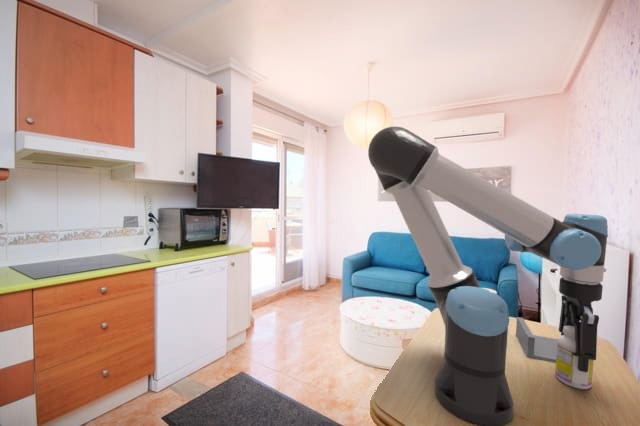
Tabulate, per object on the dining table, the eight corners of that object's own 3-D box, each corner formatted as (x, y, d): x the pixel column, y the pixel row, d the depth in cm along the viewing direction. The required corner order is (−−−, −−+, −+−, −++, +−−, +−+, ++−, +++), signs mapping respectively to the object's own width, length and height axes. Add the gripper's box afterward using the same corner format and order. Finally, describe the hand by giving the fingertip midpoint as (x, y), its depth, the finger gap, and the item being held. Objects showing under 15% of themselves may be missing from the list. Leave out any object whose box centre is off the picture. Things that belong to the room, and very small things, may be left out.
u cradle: (527, 356, 80) (528, 336, 80) (515, 334, 93) (516, 316, 93) (587, 368, 75) (589, 347, 75) (566, 343, 88) (568, 324, 87)
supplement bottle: (588, 379, 71) (592, 328, 70) (594, 394, 65) (599, 339, 64) (553, 369, 75) (557, 321, 74) (556, 383, 69) (560, 331, 68)
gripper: (625, 295, 58) (615, 405, 59) (583, 271, 76) (576, 356, 77) (577, 290, 61) (569, 394, 62) (547, 268, 79) (541, 349, 80)
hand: (573, 373), depth 70 cm, fingers closed on supplement bottle, 7 cm apart
